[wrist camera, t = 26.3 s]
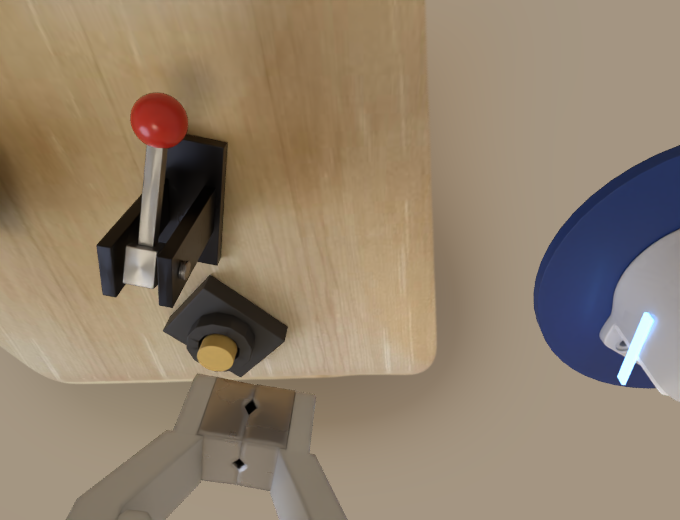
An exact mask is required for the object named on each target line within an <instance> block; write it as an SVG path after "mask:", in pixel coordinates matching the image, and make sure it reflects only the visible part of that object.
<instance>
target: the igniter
mask: <svg viewBox="0 0 680 520" xmlns="http://www.w3.org/2000/svg"><path fill="white" fill-rule="evenodd" d="M287 328H288V327H287V326H285V325H284V324H282V323H281V322H279V321H278V320H276V319H275V318H273V317H272V316H270V315H269V314H267V313H266V312H264V311H263V310H261V309H260V308H258V307H257V306H255V305H254V304H252V303H251V302H249V301H248V300H246V299H245V298H243V297H242V296H241V295H239V294H238V293H236V292H235V291H233V290H232V289H230V288H229V287H227V286H226V285H224V284H223V283H221V282H220V281H218V280H217V279H215V278H214V277H212V276H211V275H210V276H209V277H208V278H207V279H206V280H205V281H204V282H203V283H202V284H201V285H200V286H199V287H198V288H197V289H196V290H195V291H194V292H193V293H192V295H191V296H190V297H189V298H188V299H187V300H186V301H185V302H184V303H183V304H182V305H181V306H180V307H179V308H178V309H177V310H176V311H175V312H174V313H173V315H172V316H171V317H170V318H169V320H168V322H167V324H166V326H165V328H164V329H163V331H164V332H165V333H167V334H169V335H170V336H172V337H174V338H175V339H177V340H179V341H180V342H182V343H184V344H185V345H187V350H188V351H189V353H190V354H191V356H192V357H193V359H194V360H195V361H197V362H199V361H198V359H197V353H198V350H199V348H200V346H201V343H202V341H203V339H204V338H205V337H206V336H208V335H211V334H221V335H226V336H227V337H229V338H231V339H232V340H233V341H234V342H235V343H236V345H237V353H236V356H235V359H234V363H233V365H232V366H231V367H230V368H229V369H228V370H225V371H231V372H232V373H234V374H236V375H237V376H239V377H242V376H243V375H244V374H246V373H247V372H248V371H249V370H250V369H252V368H253V367H254V366H255V365H256V364H258V363H259V362H260V361H261V360H263V359H264V358H265V357H266V356H267V355H269V354H270V353H271V352H272V351H274V350H275V349H276V348H277V347H278V346H280V345H281V344H282V343H283V342H284V341H285V337H286V332H287Z"/></svg>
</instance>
